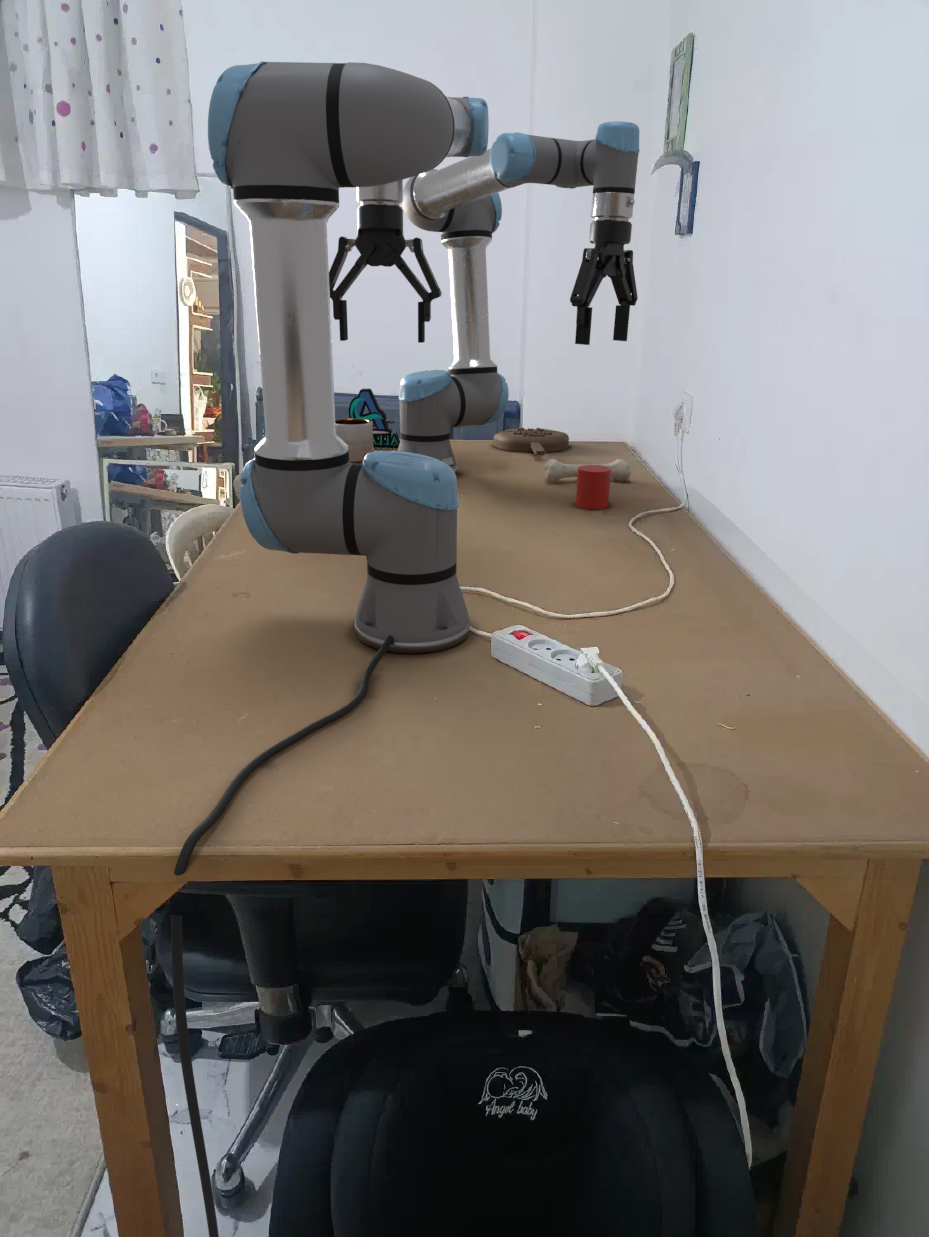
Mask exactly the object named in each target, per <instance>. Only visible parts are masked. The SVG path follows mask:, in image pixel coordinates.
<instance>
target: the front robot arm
mask: <svg viewBox="0 0 929 1237" xmlns="http://www.w3.org/2000/svg"><path fill="white" fill-rule="evenodd" d="M489 122H490V120H489V107H488V103H487V101H486V100H485V99H484V98H481V97H470V96H462V97H458V96H457V97H455V96H454V97H451V96H447V95H445V93H444V92H443V91H442V90H441V89H440V88H439V87H437V86H436V85H435V84H434V83H432V82H431V81H428V80H426V79H424V78H421V77H418V76H415V75H413V74H409V73H407V72H404V71H401V70H397V69H395V68H394V69H393V68H391V67H387V66H382V65H380V64H379V65H378V64H373V63H367V62H341V63H339V62H297V61H293V62H291V61H259V62H257V63H249V64H236V65H231V66H229V67H228V68H226V69H225V70H224V71H223V72H222V73H221V74H220V75H219V77H217V80H216V83H215V85H214V86H213V89H212V92H211V97H210V100H209V106H208V115H207V140H208V141H207V142H208V151H209V158H210V159H211V160H212V169H213V172H214V174H215V176H216V178H217V179H218V181H219V182H220V184H222V185H223V186H225V187H227V188H230V189H231V190H232V193H233V204H234V206H235V207H237V209H238V210H239V211H240V212H241V213H242V214H243V215H244V216H245V217H246V218H247V221H248V222H249V232H250V234H249V235H250V247H251V259H252V260H251V261H252V270H253V271H252V272H253V285H254V299H255V312H256V313H255V314H256V323H257V324H256V325H257V336H258V337H257V338H258V351H259V364H260V377H261V389H262V390H261V391H262V392H261V393H262V402H263V403H262V404H263V416H264V429H265V430H264V431H265V434H264V436H263V438H262V439H260V441H259V442H258V444H256V446H255V447H254V458H253V459H251V460H249V461H247V462H246V463H245V465H244V466H243V469H242V472H241V475H240V481H241V485H240V487H239V496H240V497H239V499H240V505H241V511H242V515H243V518H244V522H245V525H246V527H247V529H248V531H249V534H250V535H251V537H252V539H253V540H255V541H256V543H257V544H259V545H260V547H262V548H264V549H266V550H269V551H278V552H287V553H289V554H301V553H302V554H303V553H304V554H321V555H323V554H324V555H342V556H344V555H345V556H363V557H365V558H366V579H365V584H364V586H363V589H362V592H361V596H360V600H359V602H358V606H357V609H356V612H355V618H354V633H355V636H356V638H357V639H358V640H359V641H360V642H362V643H363V644H365V645H367V646H368V647H371V648H374V649H377V651H376V653H375V655H373V657H372V659H371V660H370V662H369V663H368V665H367V666H366V668H365V669H364V671H363V674H362V676H361V679H360V684H359V689H358V690H357V693H356V695H355V696H354V697H353V699H352V700H350V702H348V703H347V704H346V705H344V706H343V707H341V708H339V709H337V710H335V711H334V712H332V713H330V714H328V715H326V716H324V717H322V718H319V719H318V720H316V721H314V722H312V723H310V724H308V725H307V726H305V727H303V728H301V729H300V730H298V731H297V732H295V733H292V734H291V735H289V736H288V737H286V738H284V739H282V740H281V741H278V742H277V743H275V744H274V745H273V746H270V747H269V748H267V749H266V750H264V751H263V752H262V753H260V754H259V755H257V756H256V757H255V758H254V759H252V760H251V761H250V762H249V763H248V764H247V765H246V766H244V767H243V769H242V770H241V771H240V772H239V773H238V774H237V775H236V776H235V778H234V779H233V780H232V781H231V783H230V784H229V786H228V787H227V789H226V790H225V791H224V793H223V794H222V796H221V798H220V799H219V800H218V802H217V803H216V805H215V806H214V808H213V809H212V811H210V813H209V814H208V816H206V817H205V819H204V820H203V821H202V822H201V823H199V824H198V825H197V827H195V828H194V829H193V830H192V831H191V833H189V836H188V837H187V838H186V840H185V842H184V843H183V846H182V848H181V849H180V852H179V855H178V857H177V860H176V864H175V868H174V872H173V874H174V876H181V875H183V874H185V873H186V871H187V869H188V866H189V862H190V859H191V857H192V855H193V851H194V849H195V847H196V846H197V844H198V842H199V841H200V839H201V838H202V837H203V836H204V835H205V834H206V833H207V832H208V831H209V830H210V829H211V828H212V827H213V826H214V825H215V824H217V821H219V819H220V818H221V817H222V815H223V814H224V813H225V811H226V809H227V808H228V806H229V805H230V803H231V802H232V800H233V798H234V797H235V795H236V794H237V792H238V791H239V789H240V787H241V786H242V785H243V783H244V782H245V781H246V780H247V778H249V776H251V774H252V773H253V772H255V771H256V770H257V769H258V768H259V767H260V766H262V765H264V763H266V762H267V761H268V760H269V759H270V760H271V758H272V757H274V756H275V755H277V754H279V753H281V752H282V751H284V750H285V749H287V748H289V747H290V746H293V745H295V744H296V743H298V742H300V741H301V740H303V739H304V738H306V737H308V736H309V735H311V734H313V733H315V732H316V731H318V730H320V729H322V728H324V727H326V726H327V725H329V724H332V723H334V722H336V721H337V720H339V719H341V718H343V717H345V716H347V715H348V714H349V713H351V712H352V711H353V710H354V709H356V708H357V706H359V705H360V704H361V703H362V701H363V700H364V698H365V696H366V694H367V690H368V687H369V686H368V685H369V680H370V678H371V675H372V673H373V672H374V670H375V669H376V667H377V666H378V664H379V663H380V661H381V660H382V658H383V657H384V656H385V655H386V653H387V652H390V653H396V654H397V653H398V654H425V653H433V652H439V651H443V650H446V649H449V648H452V647H455V646H457V645H458V644H460V643H462V642H463V641H464V640H466V639H467V637H468V636H469V634H470V616H469V612H468V608H467V606H466V601H465V599H464V596H463V593H462V589H461V586H460V583H459V581H458V577H457V561H458V560H457V559H458V558H457V557H458V556H457V554H458V552H457V551H458V550H457V547H458V541H457V540H458V538H457V536H458V508H459V506H460V501H459V498H458V482H457V481H458V480H457V475H455V473H454V471H453V469H452V468H451V467H450V466H449V465H447V464H446V463H444V462H442V461H440V460H438V459H435V458H432V457H429V456H425V455H421V454H416V453H410V452H403V451H397V450H389V451H387V450H375V451H374V452H370V453H368V454H367V455H366V456H365V458H364V460H363V462H362V463H350V461H349V448H348V445H347V444H346V443H345V442H344V441H343V440H342V439H341V438H340V437H339V436H338V435H337V434H336V425H335V419H336V405H335V403H336V402H335V385H334V384H335V383H334V382H335V380H334V363H333V362H334V361H333V357H334V356H333V338H332V335H333V334H332V317H333V319H334V321H339V325H338V326H339V341H340V342H346V341H348V340H349V334H348V330H349V329H348V328H349V327H348V304H347V303H348V302H347V299H343V297H344V296H345V294H346V293H347V291H348V290H349V289H350V288H351V287H352V285H353V283H354V282H355V281H357V279H358V277H359V276H360V274H361V273H362V272H363V270H364V269H366V267H367V266H370V267H381V266H382V267H386V268H389V267H393V266H396V268H397V270H399V271H400V273H401V274H402V276H404V278H405V279H406V280H407V282H408V283H409V284H410V286H411V287H412V288H413V289H414V290H415V292H416V293H417V295H418V296H419V297H420V298H421V301H418V302H417V343H420V344H421V343H425V342H426V339H425V338H426V323H428V322H429V323H430V322H431V320H432V302H433V301H434V300H435V299H438V298H441V297H442V295H443V294H442V290H441V288H440V285H439V284H438V281H437V279H436V277H435V274H434V273H433V271H432V268H431V266H430V264H429V262H428V259H427V257H426V255H425V253H424V244H423V239H422V238H420V237H414V238H409V239H406V238H405V236H404V209H403V207H402V206H400V204H402V202H403V189H404V186H403V182H404V180H406V179H410V178H411V177H413V176H416V175H419V174H422V173H425V172H428V171H430V170H432V169H436V168H438V166H439V165H440V164H441V163H442V162H443V161H444V160H446V158H454V157H455V158H469V157H471V156H482V155H484V154H485V152H486V150H488V145H489V130H490V129H489V128H490V126H489ZM341 188H342V189H343V188H344V189H345V188H356V190H355V191H356V202H357V203H359V204H360V205H358V207H357V208H356V220H357V222H356V223H357V226H356V227H357V233H356V234H357V235H356V238H350V237H349V238H348V237H346V236H343V235H342V236H339V238H338V243H337V252H336V255H335V257H334V259H333V262H332V264H331V266H330V268H329V248H328V247H329V246H328V222H329V219H330V218H331V217H332V216H333V215H334V214H335V212H337V210H338V209H339V208H340V189H341ZM354 247H355V248H356V250H357V252H359V253H360V255H359V257H358V258H357V259H356V260H355V262H354V264H353V266H352V267H351V268H350V270H349V271H348V272H347V274H346V275H345V276H344V278H343V279H342V280H341V282H340V283H339V284H338V285H337V287H336V289H335V286H336V284H337V281H338V278H339V277H340V274H341V272H342V270H343V267H344V265H345V262H346V260H347V257H348V254H349V252H350V253H351V252H352V251H353V248H354ZM406 248H408V249H409V251H410V253H413V254H414V256H415V259H416V261H417V264H418V266H419V268H420V269H421V272H422V274H423V277H424V279H425V281H426V283H427V286H428V287H429V290H430V291H428V290H427V289H426V287H425V286H424V285H423V284H422V282H421V281H420V280H419V278H418V277H417V275H415V273H414V271H412V270H411V268H410V266H409V265H408V264H407V262H406V261H405V259H404V258H403V257H402V254H403V253H404V251H405V249H406ZM331 300H332V313H331ZM332 315H333V316H332ZM170 953H171V954H170V957H171V958H170V960H171V975H172V976H171V978H172V992H173V995H172V996H173V1006H174V1015H175V1024H176V1025H175V1027H176V1036H177V1043H178V1051H179V1058H180V1064H181V1070H182V1071H181V1072H182V1078H183V1079H182V1080H183V1085H184V1090H185V1097H186V1103H187V1109H188V1115H189V1120H190V1121H189V1122H190V1126H191V1132H192V1133H191V1134H192V1138H193V1143H194V1144H193V1145H194V1150H195V1156H196V1160H197V1161H196V1162H197V1167H198V1174H199V1179H200V1185H201V1192H202V1197H203V1204H204V1209H205V1210H204V1211H205V1216H206V1217H205V1218H206V1223H207V1231H208V1237H220V1235H219V1228H218V1226H219V1225H218V1219H217V1213H216V1206H215V1200H214V1194H213V1186H212V1180H211V1173H210V1169H209V1162H208V1156H207V1155H208V1154H207V1150H206V1143H205V1139H204V1131H203V1126H202V1120H201V1113H200V1108H199V1107H200V1106H199V1102H198V1094H197V1088H196V1082H195V1074H194V1067H193V1060H192V1053H191V1046H190V1038H189V1028H188V1019H187V1018H188V1017H187V1009H186V1008H187V1007H186V994H185V979H184V960H183V958H184V957H183V915H179V914H170Z"/></svg>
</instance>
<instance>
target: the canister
mask: <svg viewBox="0 0 929 1237" xmlns="http://www.w3.org/2000/svg"><path fill="white" fill-rule="evenodd" d="M576 478H577V480H576V492H575V506H576V507H578V508H580V509H585V510H603V509H607V508H608V507H609V500H610V489H611V479H612V478H611V468H609V467H606V466H600V465H583V466H580V467H578V476H577V477H576Z"/></svg>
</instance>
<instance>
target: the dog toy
mask: <svg viewBox="0 0 929 1237" xmlns="http://www.w3.org/2000/svg"><path fill="white" fill-rule="evenodd" d="M583 465H600V466H606V467H609V468H611V478H610V479H613V480H616V481H618V482H622V481H626V480H629V479H630V477H631V474H632V471H631V468H630V464H629V463H628V462H627V461H625V460H624V459H623V458H616V459H615V460H614V461H612V462H609V463H601V464H599V463H598V464H590V463H589V464H587V463H586V464H584V463H583V464H568V463H562V462H560V461H559V460H558V459H556V458H551V459H548V460H547V461H546V462H545V465H544V467H543V469H544V475H545V480H546V481H547V482H559V481H560V480H562V479H567V478H577V476H578V467H580V466H583Z"/></svg>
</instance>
